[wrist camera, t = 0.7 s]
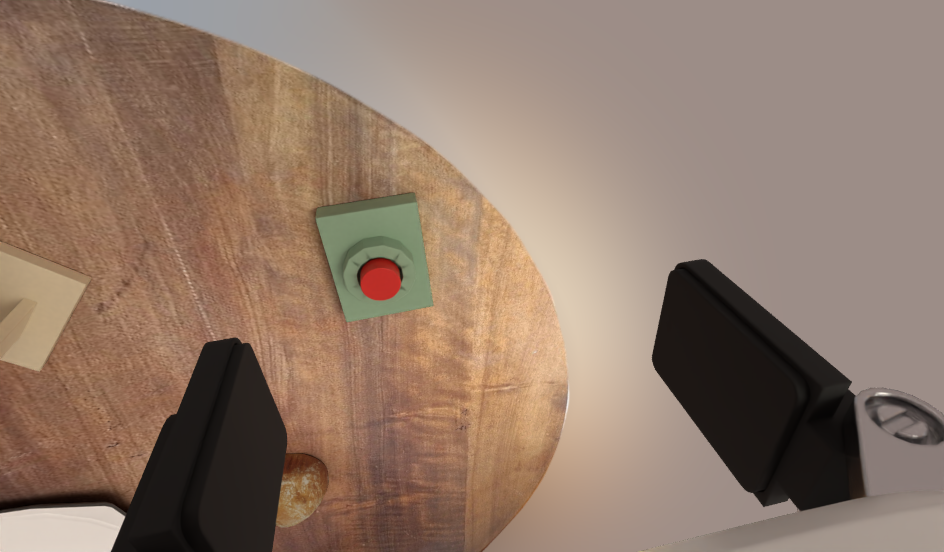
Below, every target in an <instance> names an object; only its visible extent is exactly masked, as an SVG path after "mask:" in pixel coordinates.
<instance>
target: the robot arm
mask: <svg viewBox="0 0 944 552" xmlns="http://www.w3.org/2000/svg"><path fill="white" fill-rule="evenodd" d="M652 362H653V365H654V368H655V370H656V371H657V373H658V374H659V375H660V377H661V378H662V379H663V381H664V382H665V384H666V385H667V386H668V387H669V389H670V390H671V392H672V393H673V394H674V396H675V397H676V398H677V400H678V401H679V402H680V403H681V405H682V406H683V408H684V409H685V410H686V412H687V413H688V415H689V416H690V417H691V419H692V420H693V421H694V423H695V424H696V425H697V427H698V428H699V429H700V431H701V432H702V433H703V435H704V436H705V437H706V439H707V440H708V442H709V443H710V444H711V446H712V447H713V448H714V450H715V451H716V452H717V454H718V455H719V456H720V458H721V459H722V460H723V462H724V463H725V464H726V466H727V467H728V468H729V470H730V471H731V472H732V474H733V475H734V477H735V478H736V479H737V481H738V482H739V483H740V485H741V486H742V487H743V488H744V489H745V490H746V491H748V492H751V493H754V495H755V496H756V497H757V498H758V500H759V501H760V503H761V504H762V505H763V507H765V506H769V505H773V504H777V503H781V502H785V501H788V499H789V498H790V499H791V500H792V502H793V503H794V504H795V505H796V507H797V512H796V513H792V514H787V515H783V516H779V517H775V518H771V519H767V520H763V521H759V522H755V523H751V524H747V525H743V526H739V527H735V528H731V529H727V530H723V531H719V532H715V533H711V534H707V535H703V536H699V537H695V538H691V539H687V540H683V541H679V542H675V543H671V544H667V545H663V546H659V547H655V548H651V549H647V550H643V551H639V552H944V415H943V414H942V413H941V412H940V411H939V410H937V409H936V408H934V407H933V406H931V405H930V404H928V403H927V402H925V401H923V400H921V399H919V398H917V397H915V396H913V395H910V394H907V393H904V392H901V391H898V390H892V389H887V388H869V389H866V390H863V391H861V392H860V393H859V394H858V395H857V396H855V395H854V394H853V393H852V392H851V391H850V390H848V388H849V386H850V385H851V383H852V382H851V381H850V380H849V379H848V378H846V377H845V376H844V375H843V374H842V373H841V372H839V371H838V370H837V369H836V368H835V367H833V366H832V365H831V364H830V363H829V362H827V361H826V360H825V359H824V358H823V357H822V356H820V355H819V354H818V353H817V352H816V351H814V350H813V349H812V348H811V347H810V346H808V345H807V344H806V343H805V342H804V341H803V340H801V339H800V338H799V337H798V336H797V335H795V334H794V333H793V332H792V331H791V330H789V329H788V328H787V327H786V326H785V325H784V324H782V323H781V322H780V321H779V320H778V319H776V318H775V317H774V316H772V314H770V313H769V312H768V311H767V310H766V309H764V308H763V307H762V306H761V305H760V304H759V303H757V302H756V301H755V300H754V299H753V298H751V297H750V296H749V295H748V294H747V293H745V292H744V291H743V290H742V289H741V288H739V287H738V286H737V285H736V284H735V283H733V282H732V281H731V280H730V279H729V278H728V277H726V276H725V275H724V274H722V272H720V271H719V270H718V269H717V268H716V267H714V266H713V265H712V264H711V263H710V262H708V261H707V260H704V259H701V260H694V261H688V262H683V263H679V264H677V266H676V267H675V269H674V270H673V271H671V272H670V274H669V276H668V281H667V286H666V291H665V296H664V301H663V305H662V310H661V315H660V320H659V325H658V330H657V335H656V339H655V345H654V349H653V354H652ZM286 448H287V433H286V428H285V426H284V423H283V421H282V418H281V416H280V414H279V411H278V409H277V406H276V404H275V402H274V399H273V397H272V394H271V392H270V390H269V387H268V385H267V382H266V380H265V378H264V375H263V373H262V370H261V368H260V366H259V363H258V361H257V358H256V356H255V354H254V351H253V349H252V347H251V345H250V344H249V343H243V344H242V343H241V341H240V340H239V339H238V338H230V339H224V340H218V341H212V342H207V343H206V344H205V345H204V347H203V349H202V351H201V354H200V356H199V359H198V361H197V364H196V366H195V369H194V371H193V374H192V376H191V379H190V381H189V384H188V387H187V389H186V392H185V394H184V397H183V399H182V402H181V404H180V407H179V409H178V412H177V414H174V415H171V416H170V417H169V418H168V419H167V420H166V421H165V423H164V425H163V427H162V429H161V432H160V434H159V437H158V439H157V441H156V444H155V446H154V449H153V451H152V453H151V456H150V458H149V461H148V463H147V465H146V468H145V470H144V473H143V475H142V478H141V480H140V482H139V485H138V487H137V490H136V492H135V494H134V497H133V499H132V502H131V504H130V506H129V509H128V511H127V514H126V516H125V518H124V521H123V523H122V526H121V528H120V531H119V533H118V535H117V538H116V540H115V543H114V545H113V547H112V550H111V552H272V548H273V541H274V534H275V527H276V519H277V512H278V505H279V498H280V491H281V484H282V477H283V470H284V463H285V455H286Z"/></svg>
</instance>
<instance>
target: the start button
mask: <svg viewBox="0 0 944 552" xmlns="http://www.w3.org/2000/svg"><path fill="white" fill-rule="evenodd" d="M360 284H361V290H362V292H363V293H364V294H365V295H366V296H367V297H368V298H370V299H373V300H377V301H383V300H387V299H390V298H392V297H394V296H395V295H396V294H397V293H398V291H399V290H400V287H401V280H400V272H399V269H398V267H397V265H396V264H395V263H394V262H392V261H390V260H388V259H384V258H377V259H373V260H370V261H369V262H367V263H366V264H365V265H364V266H363V267H362V269H361V273H360Z"/></svg>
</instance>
